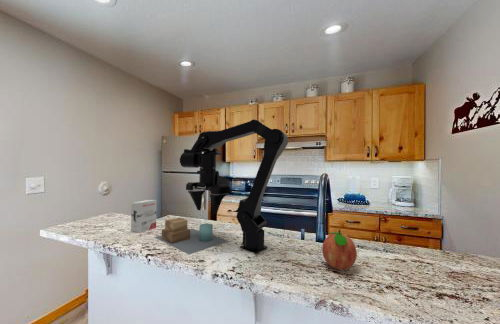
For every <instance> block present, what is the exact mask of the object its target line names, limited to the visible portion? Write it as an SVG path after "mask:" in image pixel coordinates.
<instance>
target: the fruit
mask: <svg viewBox="0 0 500 324" xmlns="http://www.w3.org/2000/svg"><path fill="white" fill-rule="evenodd" d="M337 231H338V232H337ZM337 231H335V232H334V231H333V232H331V231H330V232H329V235H328V236H327V237H326V238H324V241H323V243H322V248H321V249H322V250H321V251H322V256H323V259H324V260H325V261H326V263H327V265H329V267H332V268H333V269H336V270H340V271H341V270H343V271H345V270H348V269H350V268H352V267H353V266H354V265H355V263H356V259H357V256H358V253H357V248H356V244H355V243H354V240H352V239H351V238H350V236H347V235H346V234H343V233H342V232H341V229H338V230H337Z"/></svg>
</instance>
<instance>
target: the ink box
mask: <svg viewBox="0 0 500 324" xmlns="http://www.w3.org/2000/svg"><path fill="white" fill-rule="evenodd" d="M130 209H131V212H130V213H131V215H130V216H131V217H130V219H131V220H130V224H131V225H130V232H131V233H136V234H141V233H145V232H147V231H151V230H154V229H156V228H157V200H156V199H145V200H141V201H134V202H131V208H130Z"/></svg>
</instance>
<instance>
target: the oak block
mask: <svg viewBox="0 0 500 324" xmlns="http://www.w3.org/2000/svg"><path fill="white" fill-rule="evenodd" d="M187 228H188V219H187V218H186V219H185V218H182V217H174V218H169V219H165V220H164V229H165V230H168V231H170V232H172V233H174V232H178V231H183V230H187Z"/></svg>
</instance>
